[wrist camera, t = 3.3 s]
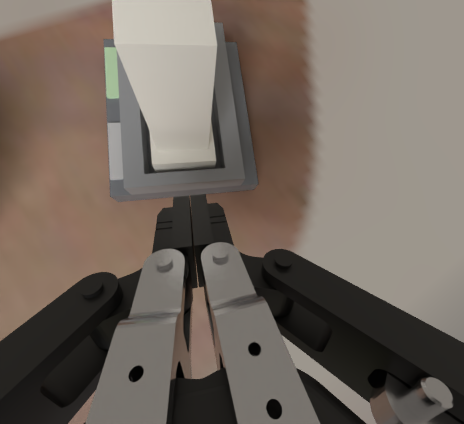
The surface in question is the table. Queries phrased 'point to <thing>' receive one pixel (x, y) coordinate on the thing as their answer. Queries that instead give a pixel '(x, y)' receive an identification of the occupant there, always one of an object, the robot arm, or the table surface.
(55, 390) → the robot arm
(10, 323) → the table surface
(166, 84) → the block
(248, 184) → the grey slotted stand
